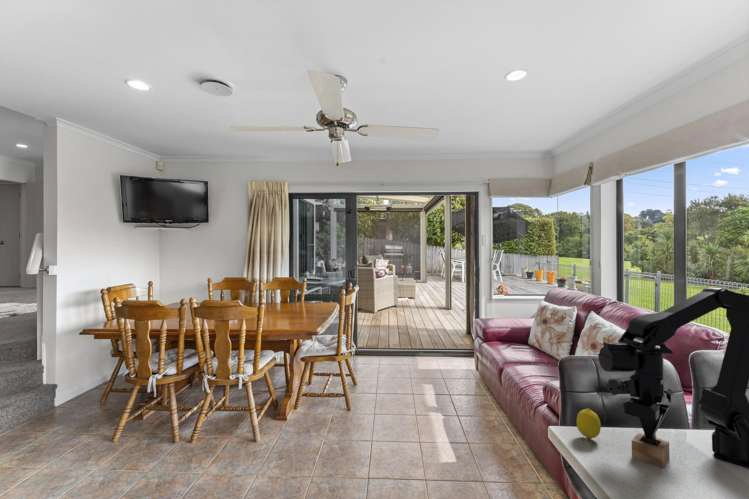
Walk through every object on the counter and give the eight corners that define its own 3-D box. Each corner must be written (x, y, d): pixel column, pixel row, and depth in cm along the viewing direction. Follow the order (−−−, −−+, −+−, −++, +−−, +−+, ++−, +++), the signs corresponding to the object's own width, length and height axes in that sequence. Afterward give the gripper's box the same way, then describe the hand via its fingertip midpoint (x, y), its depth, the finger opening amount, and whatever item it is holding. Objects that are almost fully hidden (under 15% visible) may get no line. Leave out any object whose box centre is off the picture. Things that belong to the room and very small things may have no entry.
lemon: (594, 434, 98) (593, 404, 98) (605, 445, 92) (604, 413, 92) (573, 433, 98) (572, 404, 98) (582, 444, 93) (582, 412, 93)
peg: (657, 447, 86) (656, 413, 86) (654, 450, 85) (653, 416, 85) (646, 443, 88) (645, 410, 88) (643, 446, 86) (642, 413, 86)
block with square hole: (669, 458, 86) (669, 441, 86) (663, 468, 82) (662, 450, 82) (639, 448, 90) (638, 432, 90) (631, 457, 86) (631, 440, 87)
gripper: (621, 357, 99) (623, 414, 98) (596, 371, 87) (598, 436, 86) (673, 366, 90) (675, 429, 90) (653, 383, 78) (655, 456, 78)
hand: (650, 436), depth 86 cm, fingers closed on peg, 2 cm apart
